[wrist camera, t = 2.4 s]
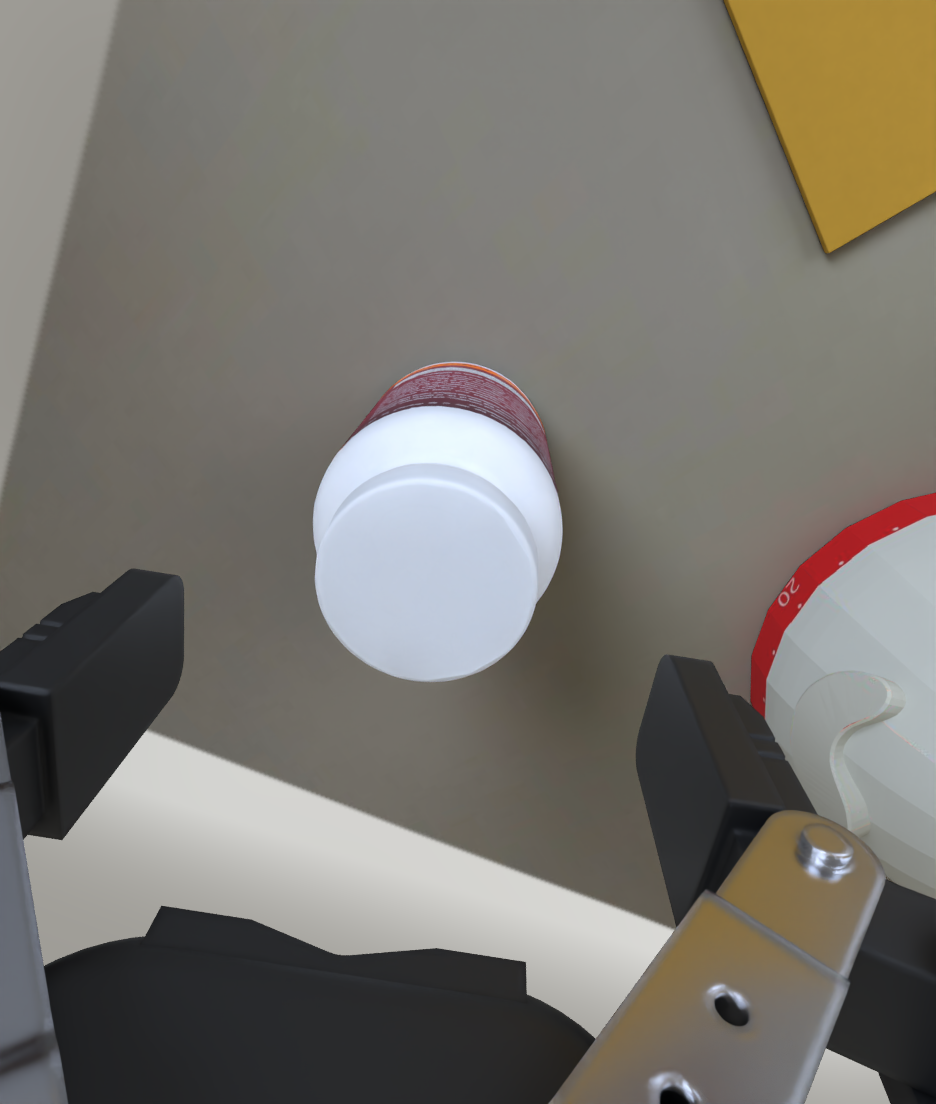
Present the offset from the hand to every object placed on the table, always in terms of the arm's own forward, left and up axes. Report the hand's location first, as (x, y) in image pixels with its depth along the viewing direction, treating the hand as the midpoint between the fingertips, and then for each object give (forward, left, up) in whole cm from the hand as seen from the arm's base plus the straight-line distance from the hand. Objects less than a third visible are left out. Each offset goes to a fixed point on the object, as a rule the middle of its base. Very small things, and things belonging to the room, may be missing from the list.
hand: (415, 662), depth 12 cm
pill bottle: (0, 0, -14) cm, 14 cm away
